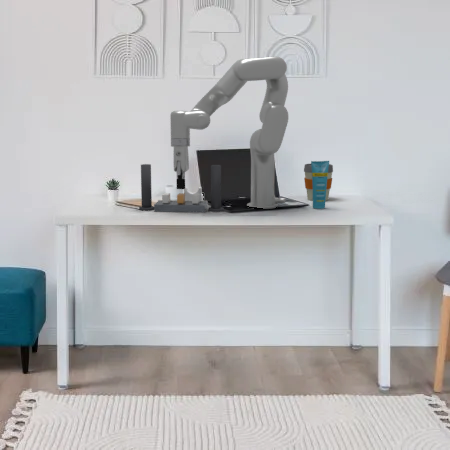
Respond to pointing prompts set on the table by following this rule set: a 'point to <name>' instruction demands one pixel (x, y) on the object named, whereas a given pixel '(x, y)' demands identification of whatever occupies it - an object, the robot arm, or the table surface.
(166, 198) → the white rectangular block
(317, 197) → the tube
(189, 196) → the bracket
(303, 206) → the table surface
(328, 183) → the reusable coffee cup
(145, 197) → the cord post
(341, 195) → the table surface
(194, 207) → the breaker panel
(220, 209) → the post
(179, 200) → the block
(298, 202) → the table surface
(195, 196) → the paddle
